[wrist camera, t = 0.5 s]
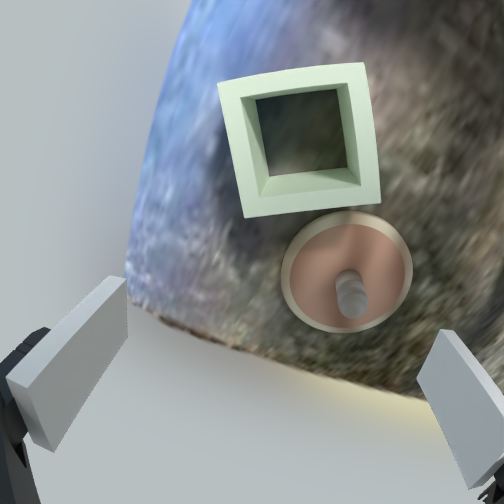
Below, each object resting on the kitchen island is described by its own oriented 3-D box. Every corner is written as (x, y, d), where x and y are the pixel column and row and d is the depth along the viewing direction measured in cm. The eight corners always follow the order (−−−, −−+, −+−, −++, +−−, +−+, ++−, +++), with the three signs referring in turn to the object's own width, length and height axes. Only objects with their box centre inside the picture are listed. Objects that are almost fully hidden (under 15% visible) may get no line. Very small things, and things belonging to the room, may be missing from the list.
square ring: (348, 73, 26) (363, 62, 19) (363, 180, 31) (380, 202, 24) (237, 88, 29) (216, 83, 22) (257, 192, 33) (244, 218, 26)
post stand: (409, 204, 31) (434, 230, 24) (405, 318, 37) (419, 358, 30) (271, 218, 34) (263, 248, 27) (290, 330, 40) (285, 372, 33)
